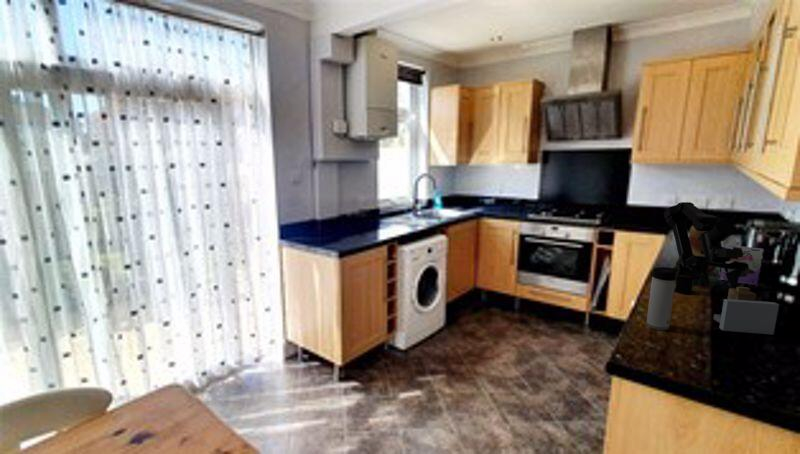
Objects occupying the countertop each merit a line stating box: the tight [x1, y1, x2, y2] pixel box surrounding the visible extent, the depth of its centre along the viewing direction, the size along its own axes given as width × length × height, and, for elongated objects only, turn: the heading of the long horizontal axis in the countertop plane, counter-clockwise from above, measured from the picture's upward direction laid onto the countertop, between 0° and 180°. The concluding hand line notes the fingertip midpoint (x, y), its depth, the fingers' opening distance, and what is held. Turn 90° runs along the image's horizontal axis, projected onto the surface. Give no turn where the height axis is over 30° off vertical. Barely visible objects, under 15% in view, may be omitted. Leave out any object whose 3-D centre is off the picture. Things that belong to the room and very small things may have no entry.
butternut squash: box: [688, 225, 717, 274], centre depth 188 cm, size 14×13×25 cm
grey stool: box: [713, 298, 780, 336], centre depth 127 cm, size 10×14×10 cm
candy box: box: [717, 244, 765, 287], centre depth 174 cm, size 14×6×16 cm, turn 47°
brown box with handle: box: [727, 286, 757, 301], centre depth 127 cm, size 5×5×13 cm
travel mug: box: [646, 266, 678, 331], centre depth 125 cm, size 6×7×20 cm
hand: (720, 287), depth 136 cm, fingers open, 9 cm apart
